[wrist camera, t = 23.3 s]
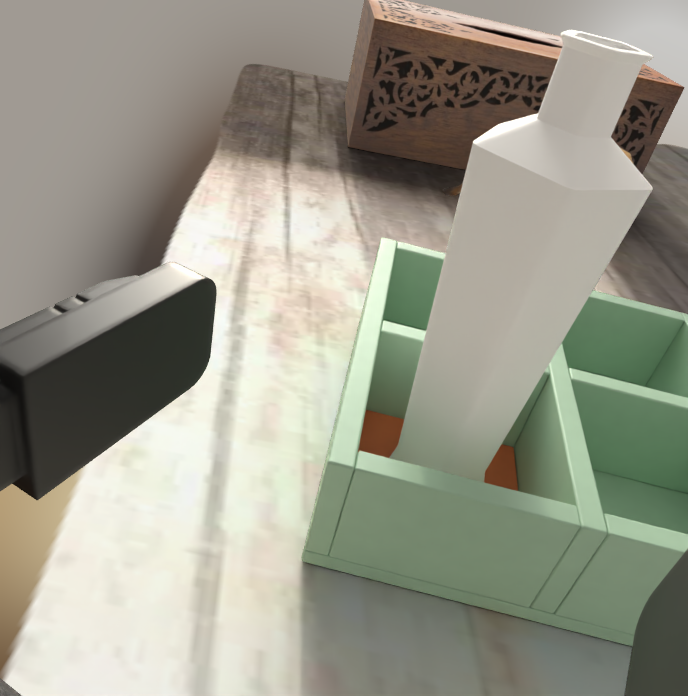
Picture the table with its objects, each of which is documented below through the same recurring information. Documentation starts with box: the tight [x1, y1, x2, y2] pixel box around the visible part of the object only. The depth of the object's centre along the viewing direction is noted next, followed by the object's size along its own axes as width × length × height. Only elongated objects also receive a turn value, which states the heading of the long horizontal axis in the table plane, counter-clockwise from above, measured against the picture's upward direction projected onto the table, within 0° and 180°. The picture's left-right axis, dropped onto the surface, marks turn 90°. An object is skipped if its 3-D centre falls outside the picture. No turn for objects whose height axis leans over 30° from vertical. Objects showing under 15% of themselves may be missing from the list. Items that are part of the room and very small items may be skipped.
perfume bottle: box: [389, 30, 653, 482], centre depth 19 cm, size 5×4×15 cm
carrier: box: [302, 237, 688, 646], centre depth 26 cm, size 15×15×5 cm
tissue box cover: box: [345, 0, 684, 174], centre depth 59 cm, size 26×14×10 cm, turn 91°
